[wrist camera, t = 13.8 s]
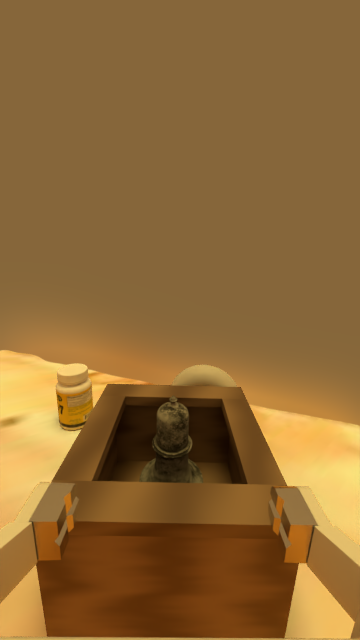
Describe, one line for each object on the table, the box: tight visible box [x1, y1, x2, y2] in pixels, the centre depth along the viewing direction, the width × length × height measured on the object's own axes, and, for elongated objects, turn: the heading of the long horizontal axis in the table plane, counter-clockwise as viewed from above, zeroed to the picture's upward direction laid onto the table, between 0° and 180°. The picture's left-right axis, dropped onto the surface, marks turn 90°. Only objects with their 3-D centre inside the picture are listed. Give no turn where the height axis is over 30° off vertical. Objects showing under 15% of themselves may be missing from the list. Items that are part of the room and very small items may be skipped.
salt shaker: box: [139, 395, 203, 483], centre depth 22 cm, size 6×6×12 cm
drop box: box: [36, 384, 299, 638], centre depth 22 cm, size 15×15×10 cm
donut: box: [172, 365, 237, 387], centre depth 35 cm, size 10×4×10 cm, turn 80°
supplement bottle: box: [56, 364, 93, 430], centre depth 36 cm, size 5×5×8 cm
